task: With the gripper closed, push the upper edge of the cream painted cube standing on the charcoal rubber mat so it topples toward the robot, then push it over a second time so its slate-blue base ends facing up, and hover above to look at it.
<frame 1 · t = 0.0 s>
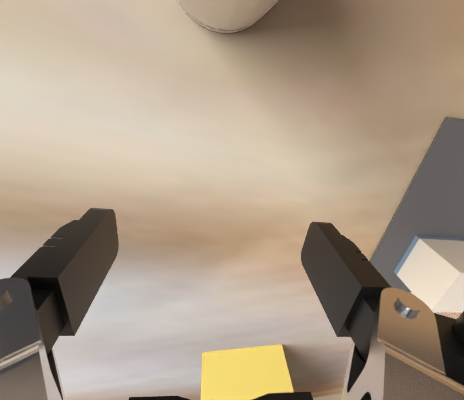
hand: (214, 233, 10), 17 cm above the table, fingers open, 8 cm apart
rubber mat: (443, 223, 33), on the table
cream cube: (425, 255, 36), resting on rubber mat
toy block: (243, 367, 49), on the table
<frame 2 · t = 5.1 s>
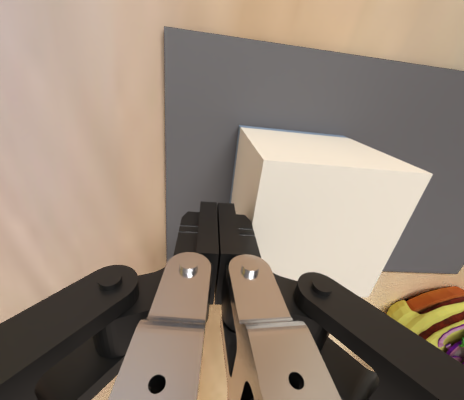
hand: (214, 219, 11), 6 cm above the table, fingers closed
rubber mat: (351, 184, 18), on the table
cream cube: (281, 181, 17), resting on rubber mat, touching gripper
cheeseburger: (428, 311, 26), on the table
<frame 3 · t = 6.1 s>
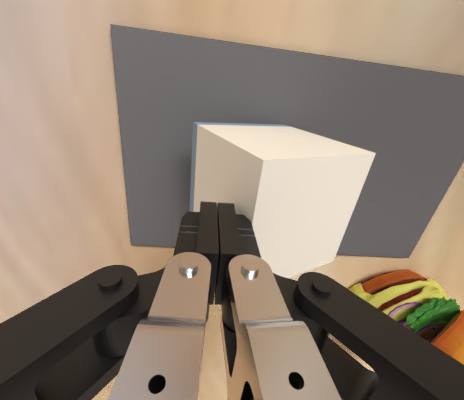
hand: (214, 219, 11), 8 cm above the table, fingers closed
rubber mat: (298, 171, 19), on the table
cream cube: (237, 173, 17), point 2 cm above the table, tilted 25°, touching gripper, rubber mat
cheeseburger: (386, 294, 27), on the table
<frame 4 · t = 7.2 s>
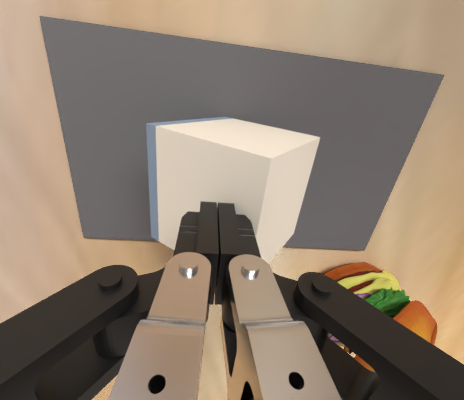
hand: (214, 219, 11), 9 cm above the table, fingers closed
rubber mat: (245, 163, 19), on the table
cream cube: (190, 172, 16), point 3 cm above the table, tilted 52°, touching gripper, rubber mat
cheeseburger: (347, 287, 28), on the table
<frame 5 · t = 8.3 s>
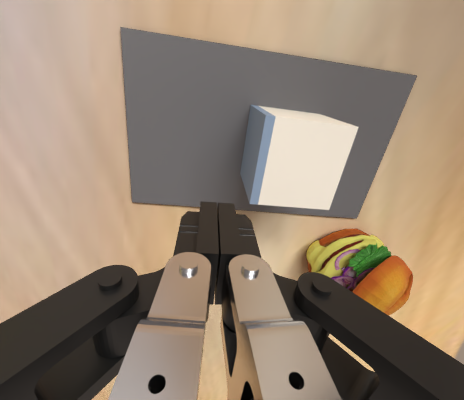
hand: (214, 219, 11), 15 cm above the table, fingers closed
rubber mat: (263, 142, 25), on the table
cream cube: (250, 150, 21), point 4 cm above the table, tilted 90°, touching rubber mat
cheeseburger: (341, 252, 33), on the table
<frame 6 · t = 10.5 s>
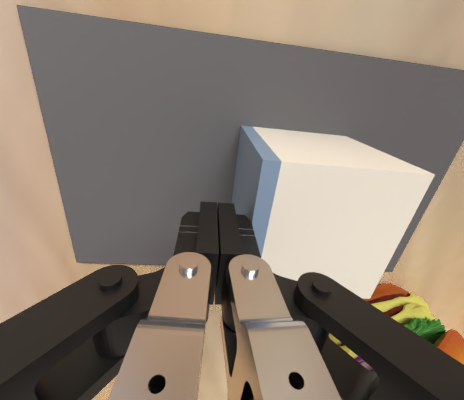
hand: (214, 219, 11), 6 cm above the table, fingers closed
rubber mat: (262, 178, 17), on the table
cream cube: (240, 201, 13), point 4 cm above the table, tilted 90°, touching gripper, rubber mat
cheeseburger: (367, 309, 25), on the table
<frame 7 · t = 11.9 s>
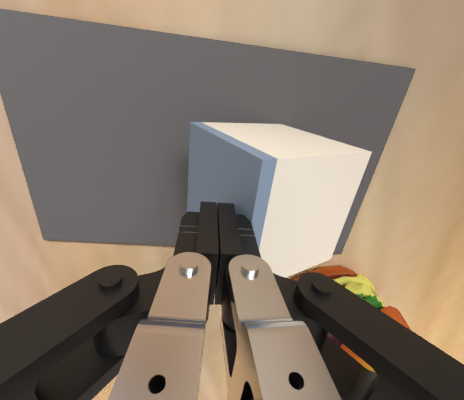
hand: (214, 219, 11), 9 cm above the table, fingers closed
rubber mat: (208, 162, 19), on the table
cream cube: (212, 202, 13), point 7 cm above the table, tilted 117°, touching gripper, rubber mat
cheeseburger: (323, 291, 26), on the table
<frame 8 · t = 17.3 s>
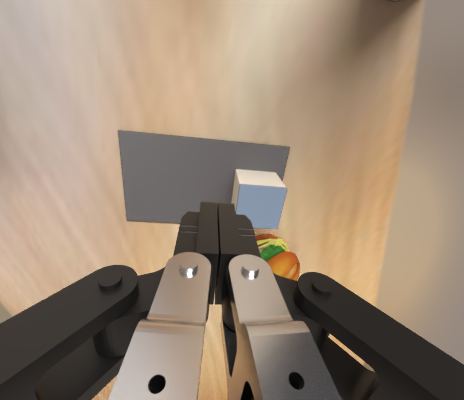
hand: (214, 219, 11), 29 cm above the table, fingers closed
rubber mat: (204, 184, 41), on the table
cream cube: (259, 208, 36), point 7 cm above the table, tilted 180°, touching rubber mat
cheeseburger: (265, 249, 49), on the table
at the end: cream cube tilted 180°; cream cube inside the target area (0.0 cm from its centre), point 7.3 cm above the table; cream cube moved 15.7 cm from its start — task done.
